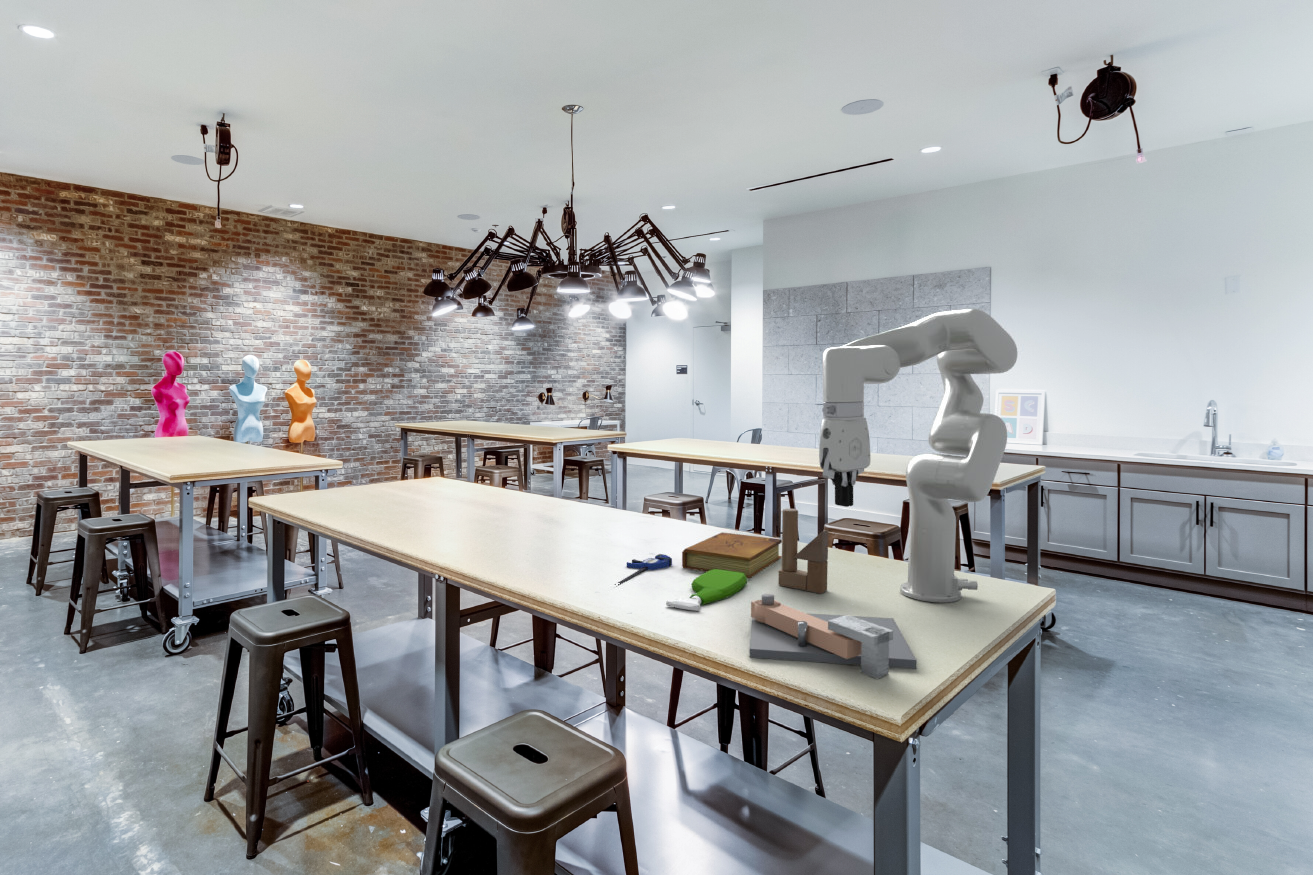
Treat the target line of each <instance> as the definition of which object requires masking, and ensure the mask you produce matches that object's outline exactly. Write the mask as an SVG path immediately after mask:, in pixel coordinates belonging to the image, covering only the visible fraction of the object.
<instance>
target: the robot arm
mask: <svg viewBox="0 0 1313 875" xmlns="http://www.w3.org/2000/svg"><path fill="white" fill-rule="evenodd" d="M935 356H936V362H937V366H938V370H939V374H940V377H941V380H942V384H943V395H942V398H941V402H940V404H939V407H938V408H937V412H936V413H935V416H934V419H933V422H932V423H931V427H930V430H929V432H928V439H927V440H928V444H929V446H930V447H931V449H932V450H933V451H935V452H938V453H921V454H917V455H916V456H914V457H913V458H912V459H910V460H909V461H908V464H907V466H906V469H905V470H906V471H905V480H906V486H907V491H908V499H909V500H908V501H909V526H908V527H909V528H908V530H909V532H908V556H907V557H908V563H907V564H908V565H907V568H908V569H907V581H906V582H904V583H902V584H901V585H900V587H899V588H900V590H899V591H900V593H902V594H903V595H904V596H906V597H909V598H910V599H914V600H916V601H917V600H918V601H923V602H930V603H941V604H942V603H954V602H957V601H959V600H961V599H962V592H961V591H963V590H972V591H977V590H978V588H979V586H978V581H977V580H969V579H968V578H958V577H957V576H956V574H955V566H956V565H955V562H956V559H955V558H956V537H957V536H956V534H957V533H956V532H957V530H956V528H957V518H956V514H955V510H954V508H953V506H952V505H951V502H950V500H951V501H953V500H954V501H961V502H967V503H976V502H980V501H982V500H985V499H986V498H987V496H988V495H989V492H990V490H991V488H992V487H993V483H994V481H995V477H996V476H997V472H998V470H999V468H1000V465H1001V462H1002V459H1003V456H1004V453H1005V451H1006V447H1007V442H1008V429H1007V425H1006V423H1005V421H1004V420H1003V419H1002V417H999V416H998V415H996V414H993V413H984V412H983V413H982V412H981V411H982V408H983V405H984V396H983V393H982V392H983V391H982V390H981V388H980V387H979V385H978V384H977V383H976V382H975V380H974V378H973V377H972V375H986V374H987V375H989V374H1003V373H1006V372H1008V371H1009V370H1012V369H1013V367H1014V366H1015V365H1016V363H1017V359H1018V348H1017V344H1016V341H1015V340H1014V338H1013V337H1012V336H1011V335H1010V333H1009V332H1008V331H1007V330H1005V328H1003V327H1002V326H1001V324H999V322H997V321H996V319H994V317H992V316H991V315H989V314H988V313H987V312H985V311H983V310H981V309H979V308H967V309H957V310H956V309H955V310H947V311H940V312H936V313H932V314H930V315H927V316H925V317H922V318H920V319H918V320H916V321H914V322H911V323H909V324H906V325H904V326H901V327H898V328H897V327H896V328H894V329H889V330H887V331H883V332H880V333H877V334H874V335H870V336H869V335H868V336H866V337H863V338H859V339H856V340H853V341H851V342H849V343H847V344H844V345H842V346H834V347H828V348H826V349H825V350H824V351H823V354H822V394H823V395H822V396H823V397H822V398H823V400H822V401H823V403H822V409H821V410H822V413H823V419H822V421H821V426H820V432H819V446H818V448H819V449H818V450H819V451H818V452H819V453H818V458H819V459H818V460H819V467H820V469H821V470H822V478H824V479H825V478H826V479H830V480H831V482H832V485H833V486H834V504H835V505H836V506H840V507H846V508H848V507H852V506H854V486H855V485H856V481H857V478H858V476H859V475H861V474H863V473H864V472H865V469H867V468H869V467H870V465H871V442H870V441H871V440H870V432H869V426H868V421H867V418H866V417H865V409H864V408H865V402H864V401H865V400H864V399H865V395H864V394H865V391H864V389H865V388H864V387H865V386H864V385H877V384H878V385H880V384H885V383H889V382H890V381H892V380H893V379H895V378H896V377H897V375H898V374H899V372H900V370H901V368H907V367H908V368H909V367H913V366H916V365H919V364H922V363H923V362H926V361H927V360H930V359H931V358H933V357H935ZM941 453H942V454H941Z"/></svg>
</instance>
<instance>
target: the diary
mask: <svg viewBox="0 0 1313 875" xmlns="http://www.w3.org/2000/svg"><path fill="white" fill-rule="evenodd" d="M780 544H782V538H773V537H764V536H758V535H757V536H756V535H750V534H749V535H748V534H741V533H740V534H739V533H730V532H720V533H718V534H716V535H713V536H711V537H708V538H706V539H704V540H702V541H699V542H697V543H695V544H693V545H691V546H688V547H686V548H684V550H682V552H681V567H682V568H683V569H687V570H693V571H699V572H704V573H706V572H708V571H710V570H713V569H719V570H726V571H733V572H740V573H744V574H745V576H746V577H747V579H751V578H753V577H754V576H756V575H757V574H759V573H761V572H760V571H763V569H764V570H766V567H767V568H768V567H770V566H772V565H773V564H775V563H776V562H777V561H779V560H781V559H782V555H780V554H779V552H780V549H779V548H780V547H779V546H780ZM780 558H781V559H780ZM778 559H779V560H778ZM775 561H776V562H775ZM769 565H770V566H769ZM758 572H759V573H758ZM752 576H753V577H752Z"/></svg>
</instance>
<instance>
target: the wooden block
mask: <svg viewBox="0 0 1313 875" xmlns="http://www.w3.org/2000/svg"><path fill="white" fill-rule="evenodd" d="M781 523H782V526H781V528H782V529H781V532H782V533H781V536H782V537H781V539H782V543H781V556H782V558H781V569H779V570H778V580H777V582H778V583H777V585H778V586H781V587H786V588H790V589H796V590H801V591H804V592H805V591H807V592H809V593H814V594H820V595H821V594H824V593H825V592H826V591H828V565H829V564H828V563H829V562H828V559H829V529H826V530H823V531H821V532H820V533H819V534H817V535H816V536H815V537H814V538H813V539H811V541H810V542H808V543H807V544H806V545H805V546H804V547H803V548H802V549H801V550H799V551H798V548H799V547H798V545H799V544H798V543H799V542H798V538H799V537H798V536H799V534H798V533H799V510H798V509H796V508H783V509H782V520H781ZM798 560H803V561H807V568H806V569H807V570H806V571H805V570H800V569H798Z"/></svg>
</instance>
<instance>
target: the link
mask: <svg viewBox="0 0 1313 875" xmlns="http://www.w3.org/2000/svg"><path fill="white" fill-rule="evenodd" d="M806 613H807V612H804V611H801V610H798V609H796V608H792V607H790V606H787V605H785V604H782V603H781V602H780V601H778V600H775V595H774V594H771V593H762V594H761V599H757V600H753V601H750V617H751V619H752V618H754V619H755V620H756V621H758V622H761V623H766V624H768V625H770V626H773V627H775V628H777V629H779V630H782V631H784V632H786V633H789V634H791V635H793V636H795V637H798V622H799V621H805V622H807V642H809V643H811V644H814V645H816V646H818V647H820V648H823V649H825V650H827V651H829V652H832V653H834V654H836V655H839V656H841V657H843V658H845V659H849V658H852V657H855V656H859V655H861V645H862V642H860V641H857V640H855V639H852V638H849V637H847V636H844V635H841V634H839V633H836V632H833V631H831V630H828V622H826V621H824V620H821V619H819V618H816V617H814V616H811V615H808V614H806Z"/></svg>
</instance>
